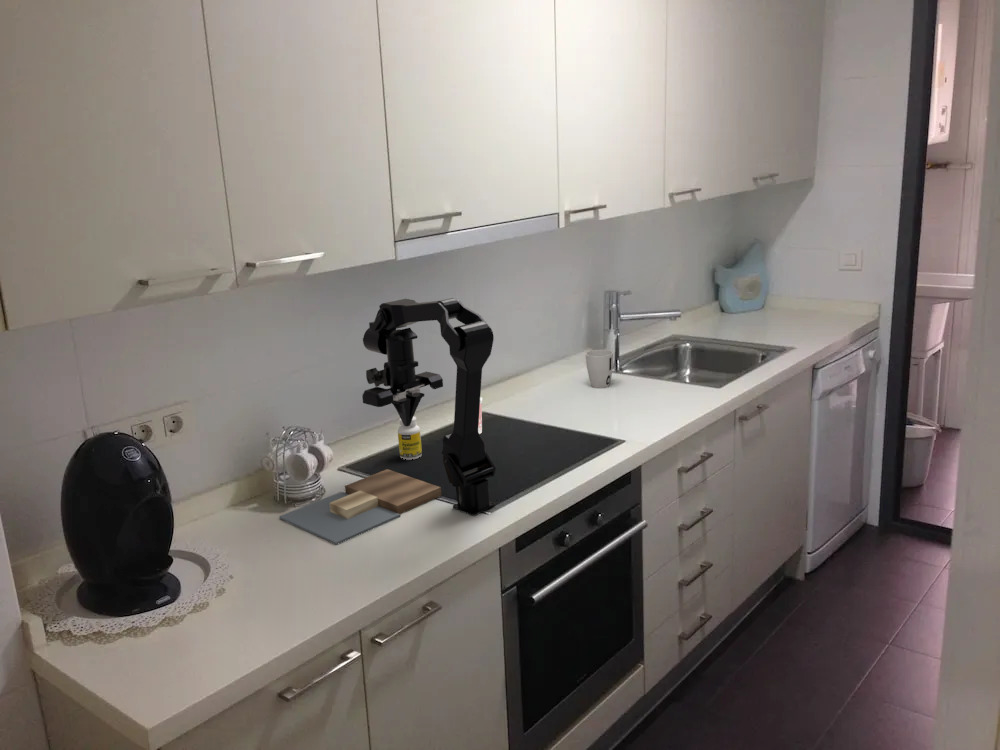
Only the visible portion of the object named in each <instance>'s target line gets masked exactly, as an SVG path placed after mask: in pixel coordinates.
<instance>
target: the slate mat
mask: <svg viewBox="0 0 1000 750" xmlns="http://www.w3.org/2000/svg"><path fill="white" fill-rule="evenodd" d="M348 495H349V494H347V493H346V492H345V491H340V492H337V493H334V494H332V495H329V496H327V497H324V498H322V499H319V500H317V501H314V502H312V503H310V504H309V503H308V504H307V505H304V506H302V507H299V508H296V509H294V510H291V511H289V512H286V513H283V514H281V515H280V516H278V519H279V520H282V521H284V522H286V523H288V524H290V525H292V526H295V527H297V528H299V529H301V530H304V531H305V532H308V533H309V534H312V535H314V536H317V537H318V538H320V537H321V539H323V540H325V541H327V542H329V541H330V542H329V543H331V542H332V544H333V543H334V544H333V545H336V546H337V545H339V544H338V543H340V544H342V543H344V542H346V541H349V540H351V539H353V538H355V536H356V537H358V536H360V535H362V534H364V532H365V533H366V531H367V532H369V531H371V530H373V528H374V529H375V528H377V527H380V526H382V525H385V524H387V523H389V522H392V521H394V520H396V519H398V518H401V514H398V513H395V512H393V511H390V510H388V509H385V508H383V507H380V506H377V507H375V508H373V509H370V510H368V511H366V512H363V513H361V514H359V515H356V516H354V517H352V518H349V519H347V518H344V517H342V516H339V515H337V514H335V513H332V512H330V504H329V503H330V502H333V501H335V500H338V499H340V498H343V497H345V496H348ZM368 530H369V531H368ZM361 533H362V534H361ZM359 534H360V535H359ZM357 535H358V536H357ZM352 537H353V538H352ZM350 538H351V539H350ZM348 539H349V540H348ZM345 540H346V541H345ZM343 541H344V542H343ZM341 542H342V543H341Z"/></svg>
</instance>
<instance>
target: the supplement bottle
mask: <svg viewBox="0 0 1000 750" xmlns="http://www.w3.org/2000/svg"><path fill="white" fill-rule="evenodd" d="M399 425H400V426H399V427H398V428H397V437H398V438H397V439H398V449H399V450H398V451H399V457H400V458H401V459H402V458H403V459H402V460H405V459H406V460H405V461H412V459H413V460H416V459H419V457H420V458H421V457H422V454H423V451H422V448H423V447H422V438H421V437H422V435H421V434H422V433H421V428H420V426H419V425H417V416H415V415H414V416H413V419H412V421H411V424H410V426H407V427H406V426H404V424H403V422H402V420H401V418H400V417H399Z"/></svg>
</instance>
